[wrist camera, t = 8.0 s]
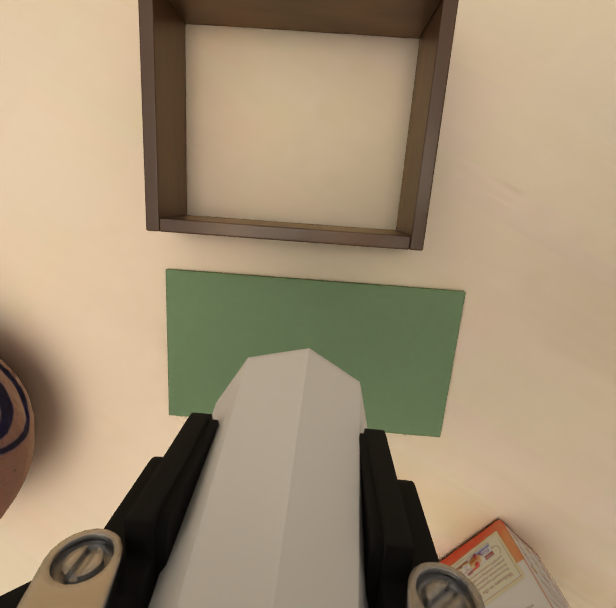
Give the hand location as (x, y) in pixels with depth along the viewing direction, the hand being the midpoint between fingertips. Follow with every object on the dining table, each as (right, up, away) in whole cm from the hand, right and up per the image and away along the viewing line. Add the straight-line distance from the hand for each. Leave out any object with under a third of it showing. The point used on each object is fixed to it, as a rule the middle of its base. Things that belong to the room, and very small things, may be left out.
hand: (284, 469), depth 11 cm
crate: (0, +16, +15) cm, 22 cm away
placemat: (+1, +1, +19) cm, 19 cm away
